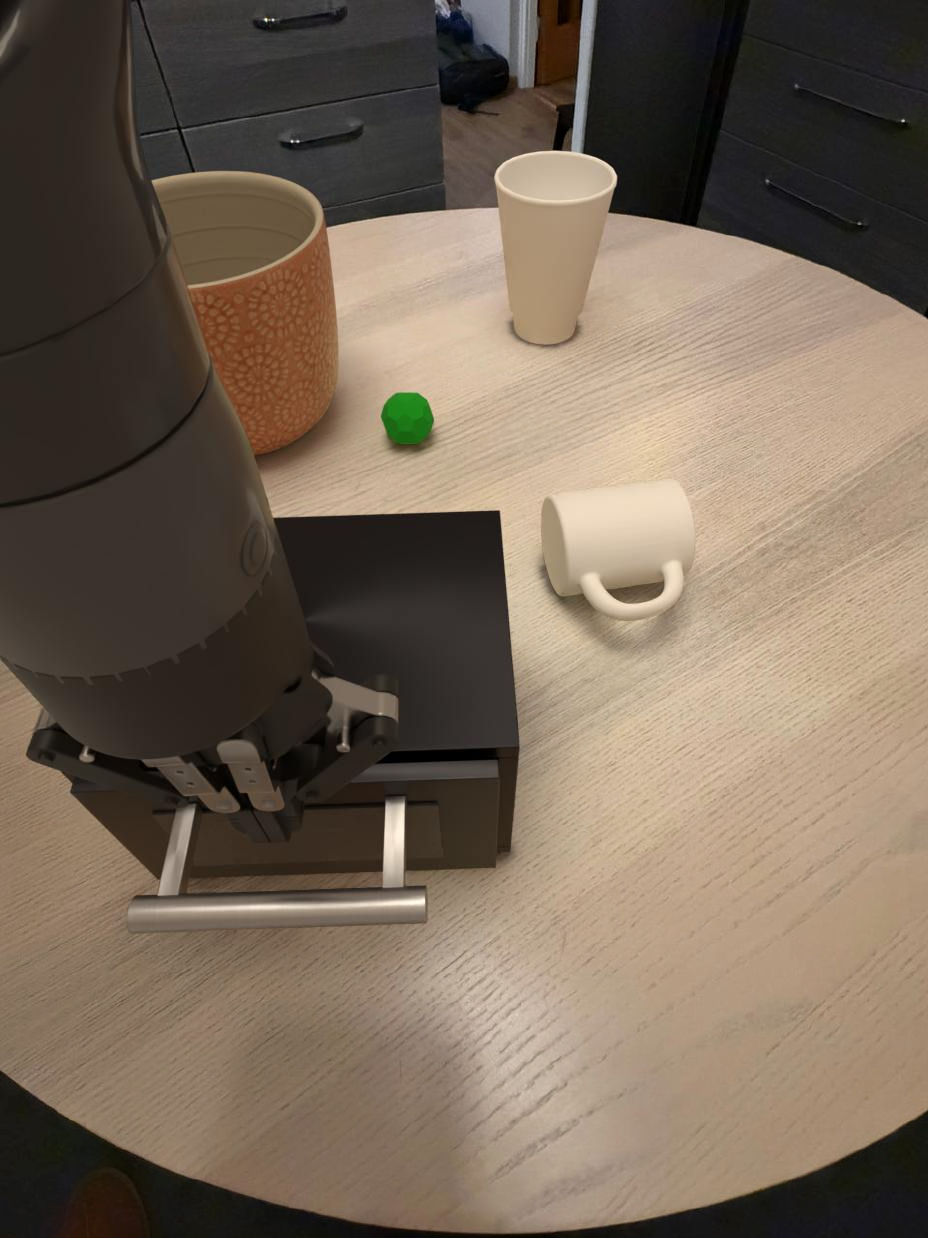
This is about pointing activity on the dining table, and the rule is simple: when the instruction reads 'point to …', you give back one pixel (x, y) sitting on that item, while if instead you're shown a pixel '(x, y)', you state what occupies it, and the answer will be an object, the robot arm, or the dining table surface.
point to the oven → (417, 628)
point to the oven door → (309, 849)
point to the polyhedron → (407, 418)
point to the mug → (619, 543)
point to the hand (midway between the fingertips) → (275, 821)
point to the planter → (259, 294)
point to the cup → (551, 237)
